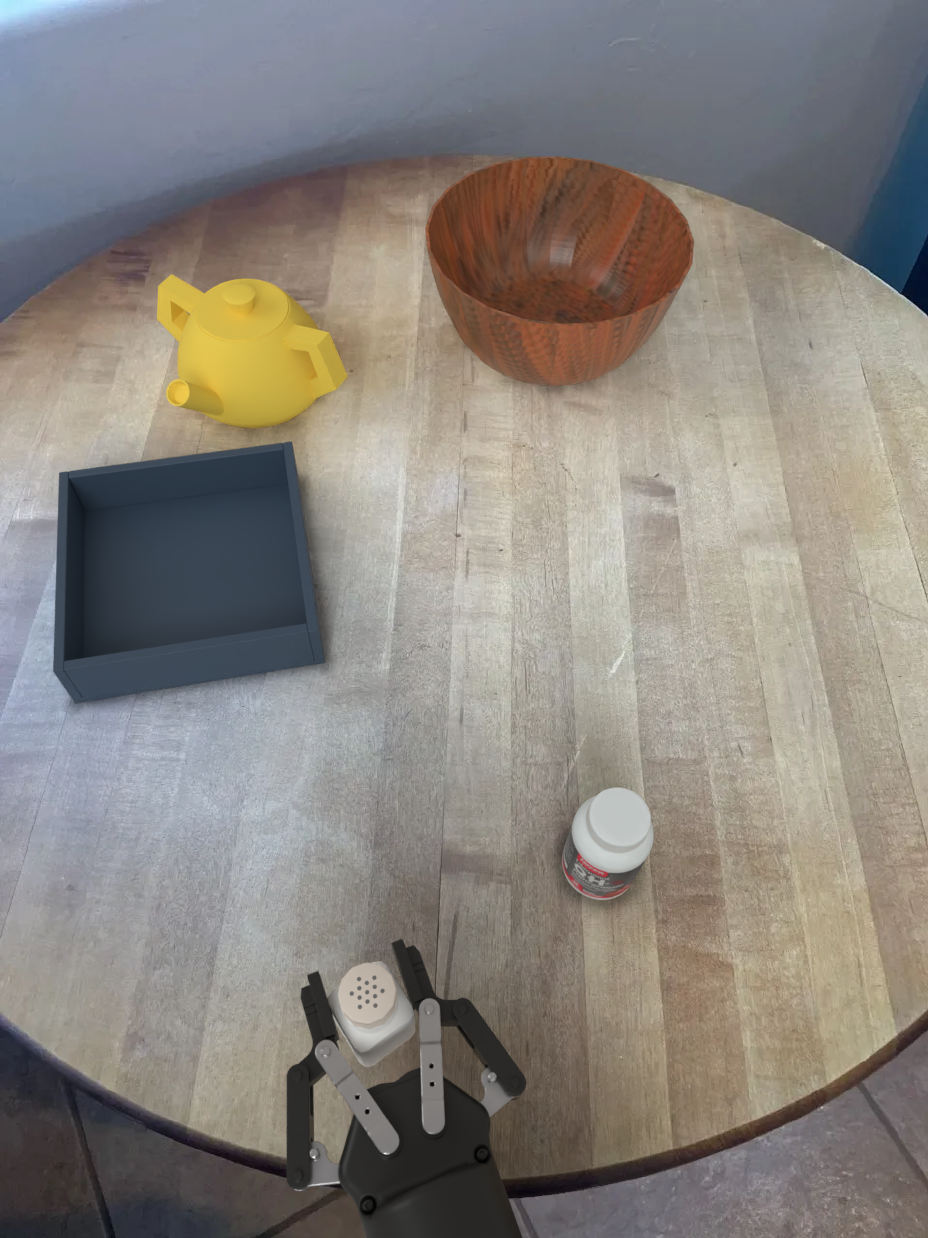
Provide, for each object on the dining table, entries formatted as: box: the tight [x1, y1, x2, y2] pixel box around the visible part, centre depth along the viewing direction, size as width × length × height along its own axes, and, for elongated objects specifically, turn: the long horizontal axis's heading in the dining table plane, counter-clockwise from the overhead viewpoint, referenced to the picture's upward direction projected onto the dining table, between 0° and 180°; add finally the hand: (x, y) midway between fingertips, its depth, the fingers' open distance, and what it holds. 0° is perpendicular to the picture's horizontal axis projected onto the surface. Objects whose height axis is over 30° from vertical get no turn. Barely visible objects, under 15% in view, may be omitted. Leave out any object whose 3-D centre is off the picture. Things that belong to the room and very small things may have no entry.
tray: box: [52, 441, 326, 704], centre depth 79 cm, size 20×20×5 cm
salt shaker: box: [327, 960, 416, 1068], centre depth 57 cm, size 4×4×10 cm
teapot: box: [156, 273, 349, 429], centre depth 88 cm, size 20×18×11 cm
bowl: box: [424, 155, 695, 387], centre depth 94 cm, size 25×25×11 cm
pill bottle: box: [561, 786, 655, 901], centre depth 65 cm, size 5×5×10 cm
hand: (355, 961), depth 57 cm, fingers closed on salt shaker, 4 cm apart
